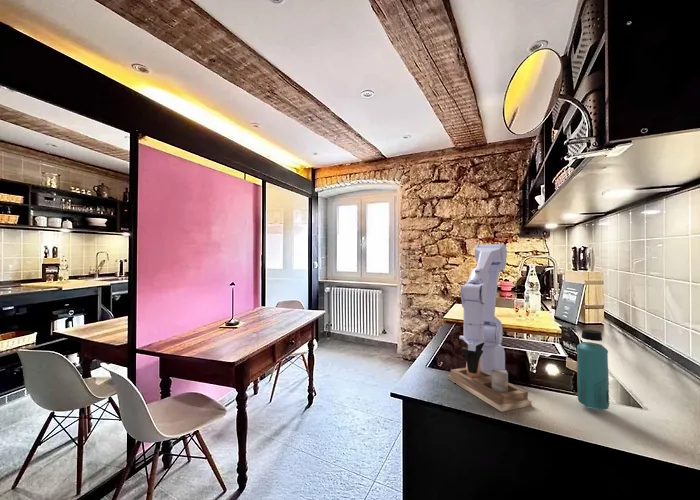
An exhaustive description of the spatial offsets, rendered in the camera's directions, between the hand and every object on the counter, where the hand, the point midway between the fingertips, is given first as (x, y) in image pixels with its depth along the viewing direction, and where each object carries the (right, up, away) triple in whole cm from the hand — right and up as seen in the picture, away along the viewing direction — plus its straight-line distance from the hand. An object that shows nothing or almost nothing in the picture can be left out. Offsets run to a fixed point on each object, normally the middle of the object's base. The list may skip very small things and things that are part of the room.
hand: (473, 368), depth 93 cm
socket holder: (+2, -5, -5) cm, 7 cm away
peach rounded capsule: (0, -4, 0) cm, 4 cm away
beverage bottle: (+24, -5, -15) cm, 29 cm away
